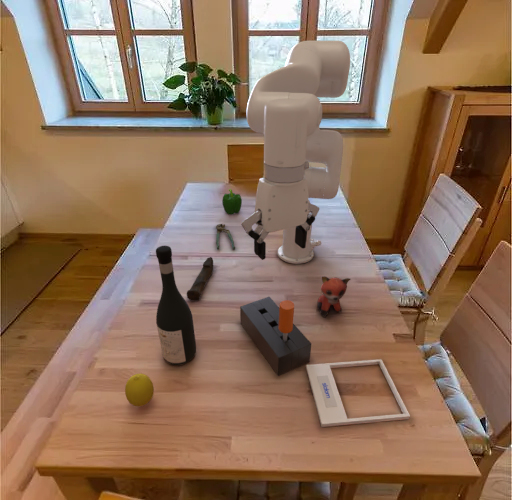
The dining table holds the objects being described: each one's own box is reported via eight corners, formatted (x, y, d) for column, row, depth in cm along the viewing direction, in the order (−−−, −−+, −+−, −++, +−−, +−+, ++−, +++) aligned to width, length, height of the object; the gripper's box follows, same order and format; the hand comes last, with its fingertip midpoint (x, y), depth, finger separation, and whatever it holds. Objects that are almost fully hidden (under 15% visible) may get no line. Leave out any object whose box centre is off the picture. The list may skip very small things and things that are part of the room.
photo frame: (306, 364, 82) (381, 358, 83) (305, 367, 82) (380, 361, 84) (322, 423, 69) (410, 415, 71) (321, 426, 70) (409, 418, 71)
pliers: (235, 250, 127) (235, 247, 127) (217, 251, 127) (216, 248, 126) (230, 225, 144) (230, 222, 143) (214, 226, 143) (214, 223, 142)
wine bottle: (181, 372, 81) (163, 264, 66) (156, 358, 85) (133, 252, 69) (203, 350, 87) (191, 245, 71) (179, 337, 91) (163, 235, 75)
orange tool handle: (286, 349, 87) (289, 298, 79) (293, 358, 85) (297, 306, 76) (274, 353, 86) (276, 302, 78) (281, 363, 84) (284, 311, 75)
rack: (268, 313, 98) (269, 296, 95) (309, 361, 84) (311, 343, 81) (240, 323, 95) (239, 306, 92) (277, 376, 80) (278, 357, 77)
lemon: (132, 392, 77) (125, 367, 73) (158, 390, 77) (152, 365, 73) (126, 415, 72) (118, 390, 68) (154, 413, 72) (147, 387, 68)
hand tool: (199, 303, 102) (198, 290, 100) (186, 300, 103) (185, 288, 101) (220, 267, 118) (219, 255, 116) (209, 265, 119) (208, 254, 116)
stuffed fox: (338, 294, 106) (343, 260, 99) (347, 319, 96) (353, 284, 90) (312, 294, 106) (316, 260, 99) (319, 320, 96) (324, 284, 90)
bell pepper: (241, 216, 151) (240, 194, 146) (222, 216, 151) (221, 194, 146) (242, 208, 158) (241, 187, 153) (224, 208, 158) (222, 187, 153)
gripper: (310, 160, 72) (304, 234, 80) (232, 172, 65) (235, 252, 74) (334, 170, 66) (324, 249, 75) (251, 185, 59) (252, 270, 68)
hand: (280, 250), depth 74 cm, fingers open, 9 cm apart
